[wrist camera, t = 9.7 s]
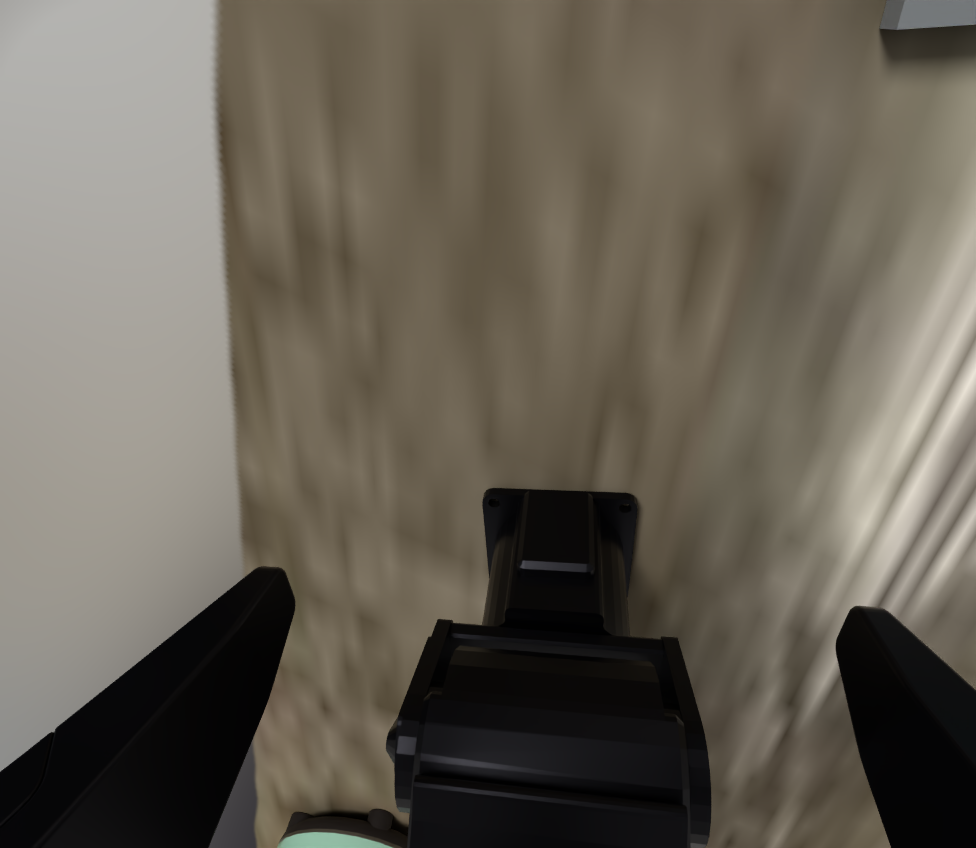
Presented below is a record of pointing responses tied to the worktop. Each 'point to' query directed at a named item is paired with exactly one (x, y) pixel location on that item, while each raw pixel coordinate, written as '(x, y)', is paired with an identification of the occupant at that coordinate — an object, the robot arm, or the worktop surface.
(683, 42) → the worktop surface
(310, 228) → the worktop surface
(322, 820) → the blender
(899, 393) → the worktop surface
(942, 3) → the pad
